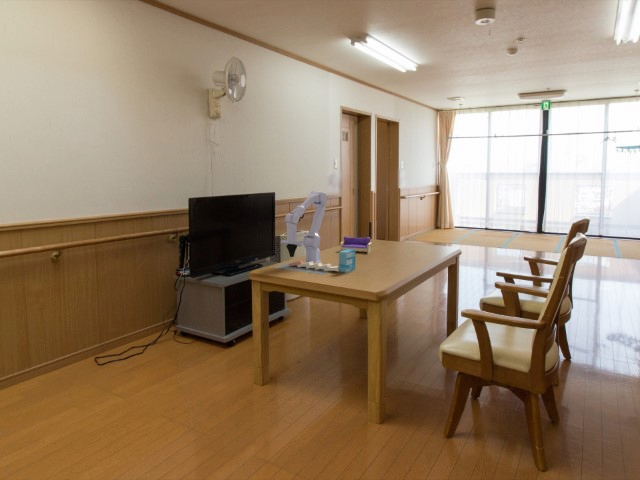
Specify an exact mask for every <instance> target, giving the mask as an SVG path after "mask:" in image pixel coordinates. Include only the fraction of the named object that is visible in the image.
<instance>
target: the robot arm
mask: <svg viewBox="0 0 640 480" xmlns="http://www.w3.org/2000/svg"><path fill="white" fill-rule="evenodd" d="M327 201H328V195H327V193H326V192H325V191H316V190H312V191H311V192H310V193H308V196H307V197H306V199H305V200H304V201H303V202H302V203H301V205H299V204H298V205H296V206H295V208H294V209H293V210H291V212H289V213H287V214H286V215H285V217H284V222H285V225H286V240H284V239H282V240H280V245H281V244H282V245H285V246H286V249H287V250H288V253H289V256H290V258H294V257H295V253H296V250H297V248H298V246H299V247H300V246H301V247H302V246H304V248H305V260H304V261H305V263H307V262H312V261H313V264H316V263H321V262H322V260H321V250H320V248H319V247H320V245H321V236H320V235H319V232H320V229H321V226H322V225H321V224H322V222H323V218H324V214H325V212H326V211H325V210H326V207H327V205H326V204H327ZM312 204H313V205H314V206H315V207H316V209H315V211H314V215H313V218H312V222H311V226H310V230H309V232H307V233H306V234H305V236H304V238H303V240H302V241H298V240H297V239H298V237H297V236H298V235H297V232H298V231H297V228H298V227H297V226H298V225H297V224H298V223H299V221H300V218H301V217H302V216H303V215H304V214H305V213H306V210H307V208H308V207H309V206H311V205H312Z"/></svg>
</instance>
